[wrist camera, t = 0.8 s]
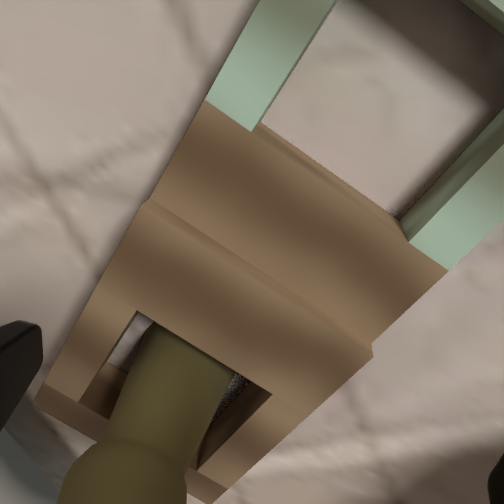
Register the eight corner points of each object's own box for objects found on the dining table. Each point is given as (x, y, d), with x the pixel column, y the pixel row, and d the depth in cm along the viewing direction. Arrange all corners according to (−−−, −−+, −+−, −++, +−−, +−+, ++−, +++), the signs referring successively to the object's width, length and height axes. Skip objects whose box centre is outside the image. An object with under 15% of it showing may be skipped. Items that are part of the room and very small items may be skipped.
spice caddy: (222, 456, 29) (209, 505, 26) (64, 364, 28) (31, 404, 25) (635, 48, 16) (711, 49, 13) (371, -174, 14) (382, -235, 11)
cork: (226, 404, 27) (169, 606, 17) (136, 377, 27) (30, 561, 18) (247, 331, 24) (193, 522, 15) (147, 302, 25) (28, 471, 15)
